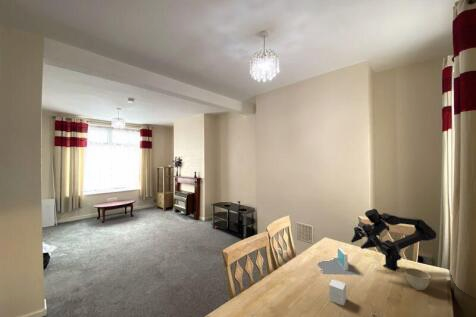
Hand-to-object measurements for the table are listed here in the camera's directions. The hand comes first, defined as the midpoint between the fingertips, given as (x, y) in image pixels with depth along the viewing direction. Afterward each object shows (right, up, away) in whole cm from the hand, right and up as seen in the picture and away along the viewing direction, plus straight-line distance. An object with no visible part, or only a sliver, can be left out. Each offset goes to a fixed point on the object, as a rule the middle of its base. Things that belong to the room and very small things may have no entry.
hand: (356, 244), depth 121 cm
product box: (-24, -14, -27) cm, 39 cm away
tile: (-6, -14, +3) cm, 16 cm away
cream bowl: (+20, -13, -19) cm, 31 cm away
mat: (-11, -14, +3) cm, 19 cm away
